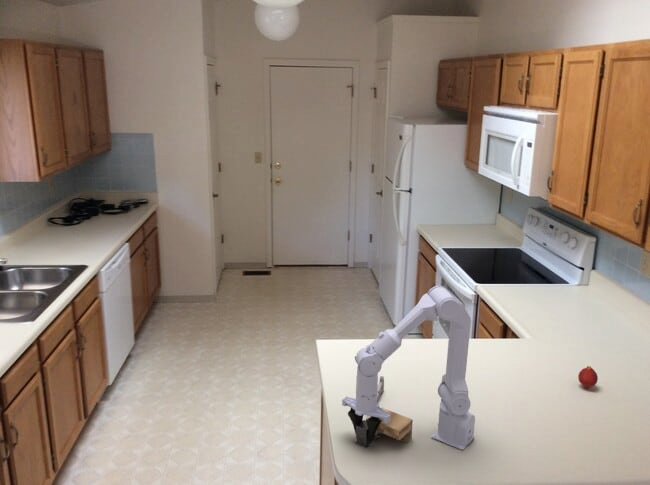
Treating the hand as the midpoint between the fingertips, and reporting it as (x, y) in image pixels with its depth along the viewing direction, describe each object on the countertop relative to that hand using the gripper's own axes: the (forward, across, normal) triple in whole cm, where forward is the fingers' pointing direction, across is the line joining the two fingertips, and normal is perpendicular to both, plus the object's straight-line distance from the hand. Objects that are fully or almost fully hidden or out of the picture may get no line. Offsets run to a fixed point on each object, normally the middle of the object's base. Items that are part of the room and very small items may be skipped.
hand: (364, 436), depth 159 cm
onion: (+2, +40, +72) cm, 82 cm away
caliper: (+2, -8, +17) cm, 19 cm away
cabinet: (+2, +4, +6) cm, 8 cm away
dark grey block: (+2, 0, +2) cm, 3 cm away
